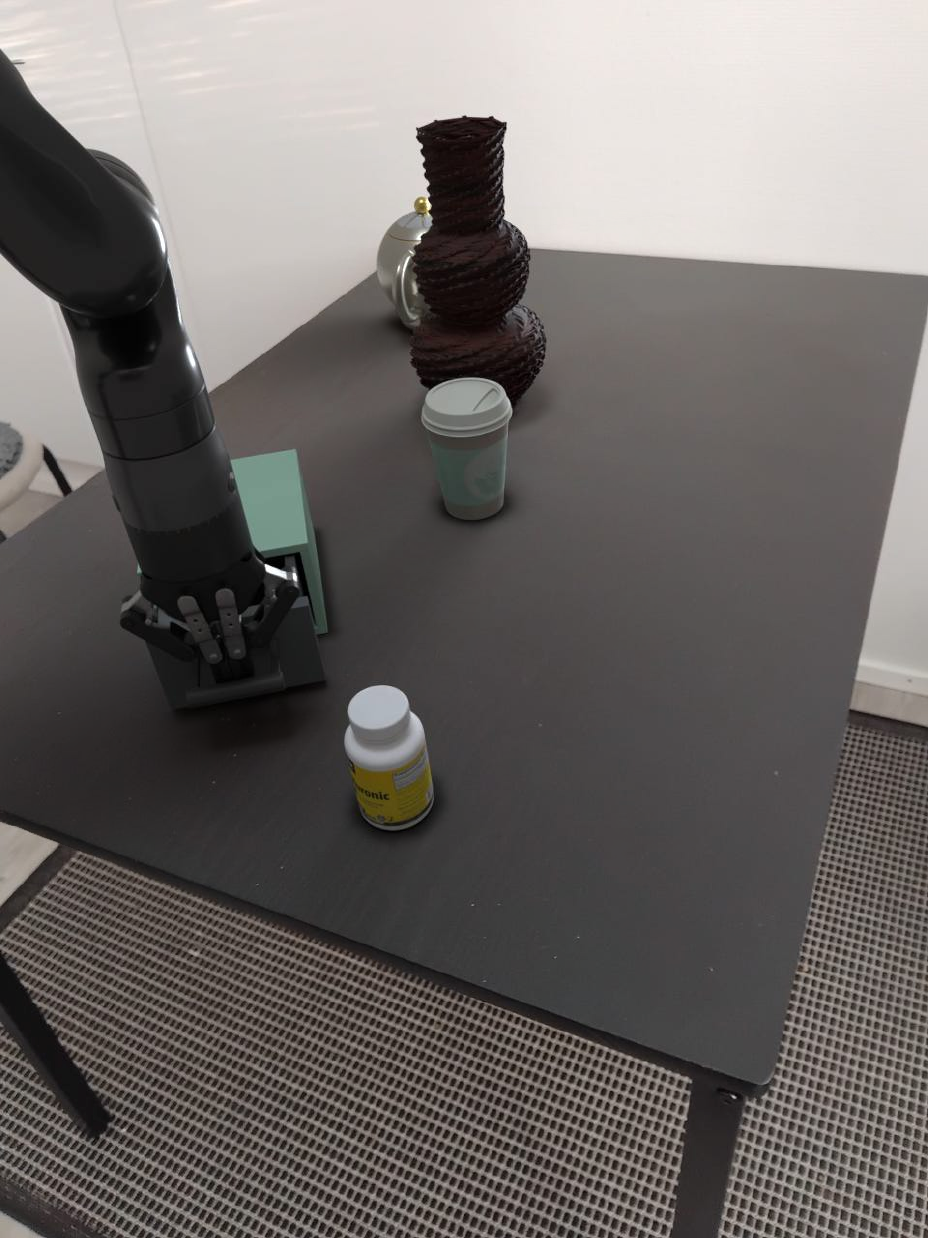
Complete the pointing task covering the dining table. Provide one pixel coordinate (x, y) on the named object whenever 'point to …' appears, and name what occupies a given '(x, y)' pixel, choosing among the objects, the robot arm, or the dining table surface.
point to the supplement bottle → (388, 759)
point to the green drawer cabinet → (280, 517)
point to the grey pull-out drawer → (275, 664)
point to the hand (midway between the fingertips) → (239, 687)
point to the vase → (472, 265)
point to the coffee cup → (469, 444)
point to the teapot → (404, 263)
